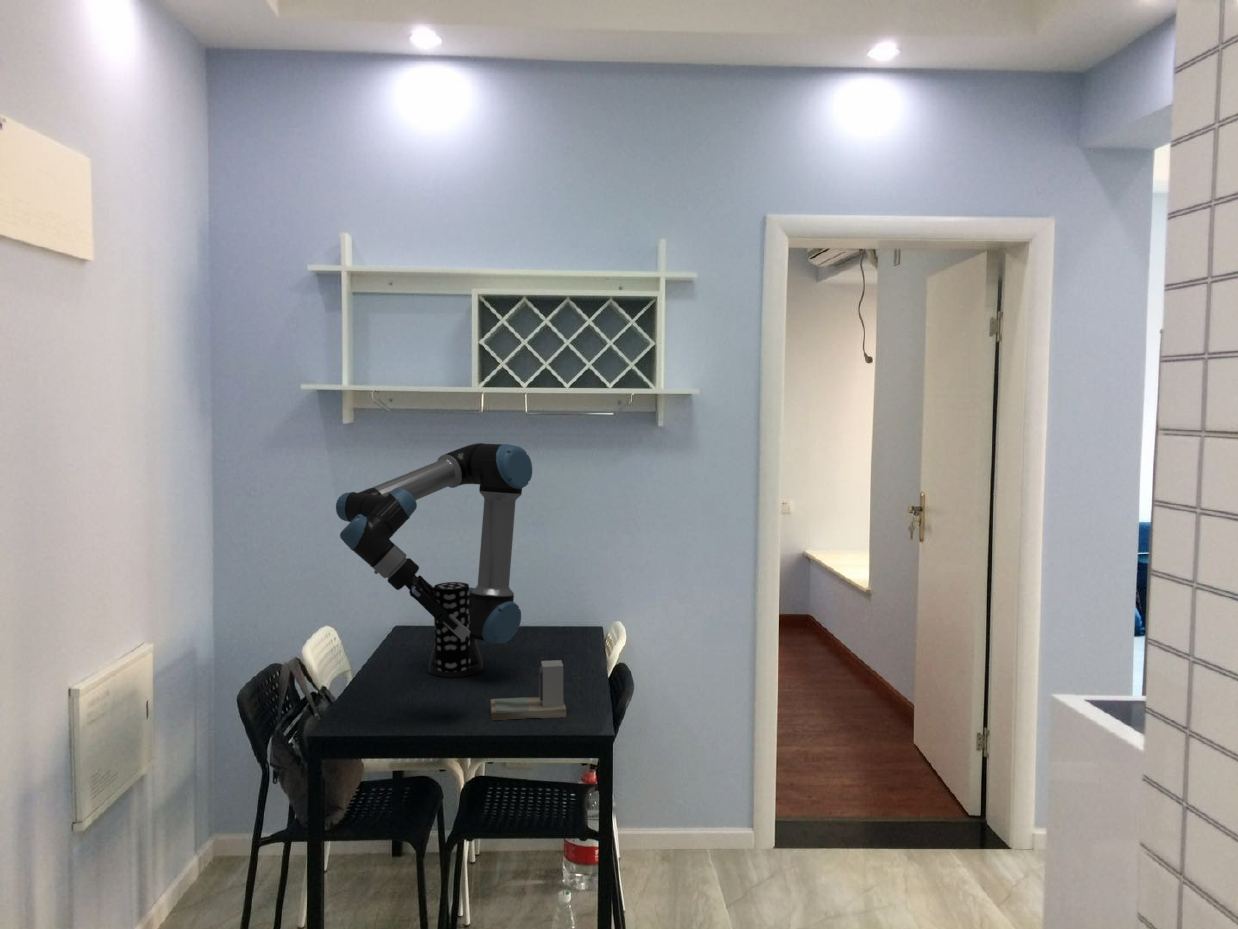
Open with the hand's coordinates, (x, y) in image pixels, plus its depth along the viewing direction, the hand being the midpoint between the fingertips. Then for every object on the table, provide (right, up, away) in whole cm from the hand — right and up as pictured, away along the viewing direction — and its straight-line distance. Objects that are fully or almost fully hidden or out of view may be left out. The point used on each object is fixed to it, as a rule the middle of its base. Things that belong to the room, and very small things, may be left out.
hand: (466, 631), depth 224 cm
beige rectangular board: (+15, -21, +4) cm, 26 cm away
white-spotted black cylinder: (-3, -9, 0) cm, 10 cm away
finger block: (+20, -19, +5) cm, 28 cm away
